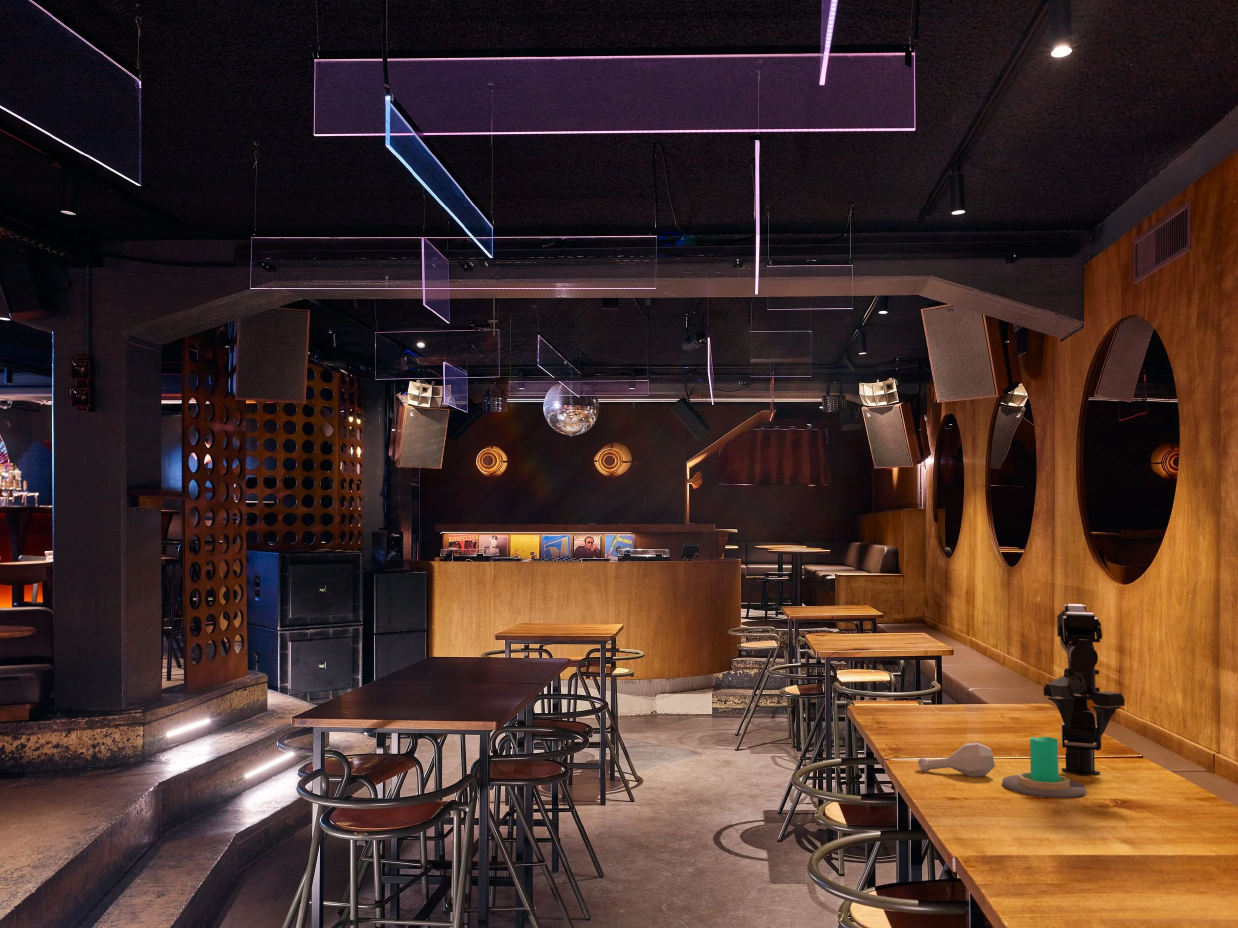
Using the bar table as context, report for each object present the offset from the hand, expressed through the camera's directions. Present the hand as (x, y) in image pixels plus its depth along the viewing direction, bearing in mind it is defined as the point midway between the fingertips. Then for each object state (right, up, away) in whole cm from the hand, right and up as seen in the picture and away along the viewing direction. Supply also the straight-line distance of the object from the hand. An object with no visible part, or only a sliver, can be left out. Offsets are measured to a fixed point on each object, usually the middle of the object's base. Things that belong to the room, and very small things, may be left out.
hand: (1083, 731), depth 224 cm
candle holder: (-11, -13, -2) cm, 17 cm away
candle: (-10, -12, -3) cm, 16 cm away
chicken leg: (-26, -14, +11) cm, 32 cm away
